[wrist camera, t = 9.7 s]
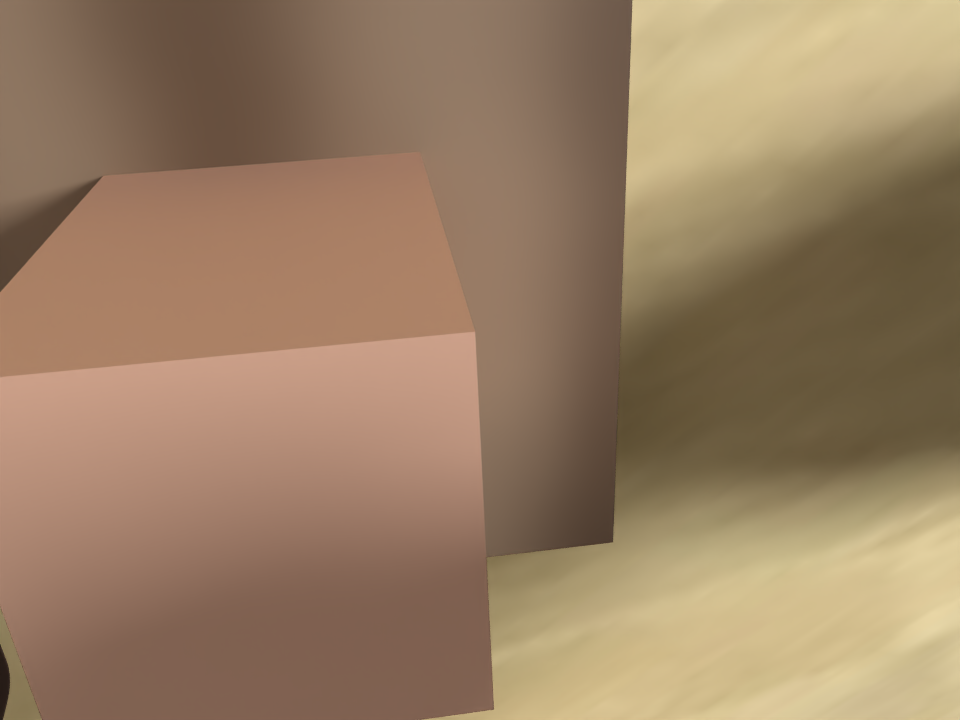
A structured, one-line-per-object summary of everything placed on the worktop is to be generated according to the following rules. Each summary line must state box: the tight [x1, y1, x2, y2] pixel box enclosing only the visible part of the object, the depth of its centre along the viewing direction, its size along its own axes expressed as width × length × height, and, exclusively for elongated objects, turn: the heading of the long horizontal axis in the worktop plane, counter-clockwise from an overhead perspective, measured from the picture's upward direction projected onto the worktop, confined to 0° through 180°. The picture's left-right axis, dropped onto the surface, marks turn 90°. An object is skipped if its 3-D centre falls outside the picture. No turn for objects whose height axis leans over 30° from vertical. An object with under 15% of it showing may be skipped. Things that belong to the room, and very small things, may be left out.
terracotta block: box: [0, 152, 494, 720], centre depth 13 cm, size 5×5×7 cm
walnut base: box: [0, 0, 632, 557], centre depth 17 cm, size 12×12×3 cm
